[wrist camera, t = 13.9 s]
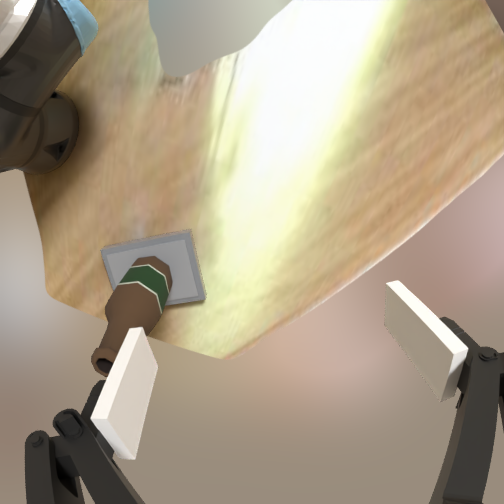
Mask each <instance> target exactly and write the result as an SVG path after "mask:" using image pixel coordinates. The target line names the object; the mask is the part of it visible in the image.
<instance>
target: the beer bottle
mask: <svg viewBox="0 0 504 504" xmlns="http://www.w3.org/2000/svg"><path fill="white" fill-rule="evenodd" d="M172 283H173V281H172V276H171V272H170V267H169V265H167V264H166V263H164V262H163V261H162V260H160V259H159V258H157V257H156V256H148V257H141V258H138V259H137V260H136V261H135V262H134V263H133V264H132V266H131V267H130V269H129V270H128V271H127V273H126V274H125V275H124V277H123V278H122V280H121V281H120V282H119V284H118V285H117V287H116V289H115V290H114V292H113V293H112V295H111V297H110V299H109V300H108V302H107V304H106V306H105V315H106V317H107V320H108V327H107V330H106V332H105V334H104V337H103V339H102V341H101V344H100V346H99V348H96V349H95V351H94V353H93V355H92V358H91V362H92V364H93V366H94V369H95V371H97V372H98V373H100V374H101V375H103V376H105V377H108V375H109V373H110V371H111V368H112V366H113V364H114V362H115V359H116V357H117V355H118V353H119V351H120V348H121V346H122V344H123V342H124V340H125V338H126V335H127V333H128V331H129V329H130V328H138V327H143V329H144V332H145V335H146V336H147V335H148V334H149V333H150V332H151V330H152V329H153V327H154V326H155V325H156V323H157V322H158V320H159V319H160V317H161V315H162V312H163V309H164V306H165V304H166V301H167V298H168V295H169V293H170V290H171V287H172Z"/></svg>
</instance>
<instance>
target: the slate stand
mask: <svg viewBox="0 0 504 504" xmlns="http://www.w3.org/2000/svg"><path fill="white" fill-rule="evenodd" d="M100 251H101V254H102V257H103V261H104V264H105V267H106V270H107V273H108V276H109V279H110V282H111V285H112V288H113V291H114V290H115V289H116V287H117V285H118V284H119V282H120V281H121V280H122V278H123V277H124V275H125V274H126V273H127V271H128V270H129V269H130V267H131V266H132V264H133V263H134V262H135V261H136V260H137V259H138V258H141V257H148V256H156V257H157V258H159V259H160V260H162V261H163V262H164V263H166V264H167V265H169V267H170V272H171V276H172V281H173V283H172V287H171V290H170V293H169V295H168V298H167V301H166V304H165V306H166V305H173V304H179V303H186V302H192V301H198V300H205V299H206V290H205V286H204V282H203V278H202V274H201V270H200V265H199V261H198V257H197V253H196V248H195V244H194V240H193V235H192V231H191V229H188V230H182V231H177V232H172V233H167V234H162V235H157V236H152V237H147V238H142V239H137V240H132V241H127V242H123V243H118V244H113V245H108V246H104V247H103V248H102V249H101V250H100Z"/></svg>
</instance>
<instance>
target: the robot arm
mask: <svg viewBox="0 0 504 504" xmlns="http://www.w3.org/2000/svg"><path fill="white" fill-rule="evenodd" d="M97 31H98V24H97V22H96V20H95V18H94V17H93V15H92V14H91V13H90V12H89V10H88V9H87V8H86V7H85V6H84V5H83V4H82V3H81V2H80V1H79V0H0V173H1V172H5V171H8V170H13V169H19V170H21V171H24V172H26V173H29V174H42V173H47V172H50V171H53V170H55V169H56V168H58V167H59V166H61V165H62V164H63V163H64V162H65V161H66V159H67V158H68V157H69V155H70V154H71V152H72V150H73V148H74V146H75V143H76V140H77V136H78V128H79V121H78V114H77V110H76V108H75V105H74V103H73V102H72V100H71V99H70V98H69V97H68V96H67V95H66V94H65V93H63V92H61V91H58V90H55V89H56V88H57V86H58V85H59V84H60V82H61V81H62V80H63V78H64V77H65V76H66V74H67V73H68V72H69V70H70V69H71V68H72V67H73V65H74V64H75V63H76V62H77V60H78V59H79V58H80V57H82V56H83V54H84V52H85V50H86V48H87V47H88V46H89V45H90V43H91V42H92V41H93V40H94V38H95V37H96V35H97ZM384 325H385V327H386V328H387V330H388V331H389V332H390V334H391V335H392V336H393V338H394V339H395V340H396V341H397V343H398V344H399V346H401V348H402V350H403V351H404V352H405V353H406V355H407V356H408V358H409V359H410V360H411V362H412V363H413V364H414V366H415V367H416V369H417V370H418V371H419V373H420V374H421V376H422V377H423V378H424V380H425V381H426V382H427V384H428V385H429V387H430V388H431V390H432V391H433V392H434V394H435V395H436V397H437V398H438V400H439V401H440V402H442V401H444V400H447V399H449V398H451V397H453V396H454V395H455V392H456V389H457V387H458V388H459V389H460V391H461V395H460V398H459V400H458V403H457V406H456V408H457V413H456V417H455V421H454V426H453V430H452V434H451V438H450V441H449V445H448V449H447V452H446V456H445V459H444V463H443V466H442V469H441V472H440V475H439V478H438V481H437V483H436V486H435V489H434V492H433V494H432V497H431V500H430V502H429V504H483V503H482V498H483V494H484V490H485V486H486V482H487V477H488V472H489V468H490V462H491V457H492V451H493V445H494V438H495V431H496V422H497V413H498V403H499V407H500V413H501V418H502V424H503V430H504V353H498V352H497V351H496V350H495V349H493V348H490V347H480V346H479V345H478V344H477V343H476V342H475V341H474V340H473V339H472V338H471V337H470V336H469V335H468V334H467V333H466V332H465V333H464V330H463V329H461V328H459V326H458V325H457V324H456V323H455V322H454V321H453V320H451V319H448V318H446V317H442V318H437V316H435V314H433V313H432V312H431V311H430V310H429V309H428V308H427V307H426V306H425V305H424V304H423V303H422V302H421V301H420V300H419V299H418V298H417V297H415V295H414V294H412V293H411V292H410V291H409V290H408V289H407V288H406V287H405V286H404V285H403V284H402V283H401V282H399V281H398V280H397V281H393V282H389V283H386V301H385V323H384ZM157 369H158V365H157V362H156V360H155V358H154V355H153V353H152V350H151V348H150V345H149V343H148V340H147V337H146V335H145V332H144V329H143V327H138V328H130V329H129V331H128V333H127V335H126V338H125V340H124V342H123V344H122V346H121V348H120V351H119V353H118V355H117V357H116V359H115V362H114V364H113V366H112V368H111V371H110V373H109V375H108V378H107V380H100V381H99V382H98V383H97V384H96V385H95V386H94V387H93V388H92V391H91V393H90V396H89V397H88V400H87V403H86V404H85V406H84V409H83V411H82V413H81V415H80V414H79V413H78V412H77V411H76V410H74V409H66V410H63V411H61V412H59V413H58V414H57V415H56V417H54V420H53V427H54V428H55V429H56V431H57V432H58V433H59V435H60V436H55V437H49V436H48V434H47V433H46V432H44V431H41V430H40V431H35V432H33V433H31V434H30V435H29V436H28V437H27V439H26V442H25V483H26V499H27V504H85V502H84V498H83V493H82V489H81V484H80V479H79V476H81V478H82V480H83V482H84V484H85V486H86V488H87V490H88V491H89V493H90V495H91V497H92V499H93V500H94V502H95V504H145V503H144V501H143V500H142V499H141V497H140V496H139V495H138V494H137V492H136V491H135V490H134V488H133V487H132V485H131V484H130V483H129V481H128V480H127V479H126V477H125V476H124V474H123V473H122V471H121V470H120V468H119V467H118V466H117V464H116V463H115V461H114V460H113V459H112V457H113V453H114V452H115V453H116V454H117V456H118V457H119V458H120V459H136V454H137V450H138V446H139V441H140V436H141V433H142V428H143V424H144V420H145V416H146V411H147V408H148V404H149V400H150V396H151V392H152V388H153V384H154V380H155V377H156V373H157Z"/></svg>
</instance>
